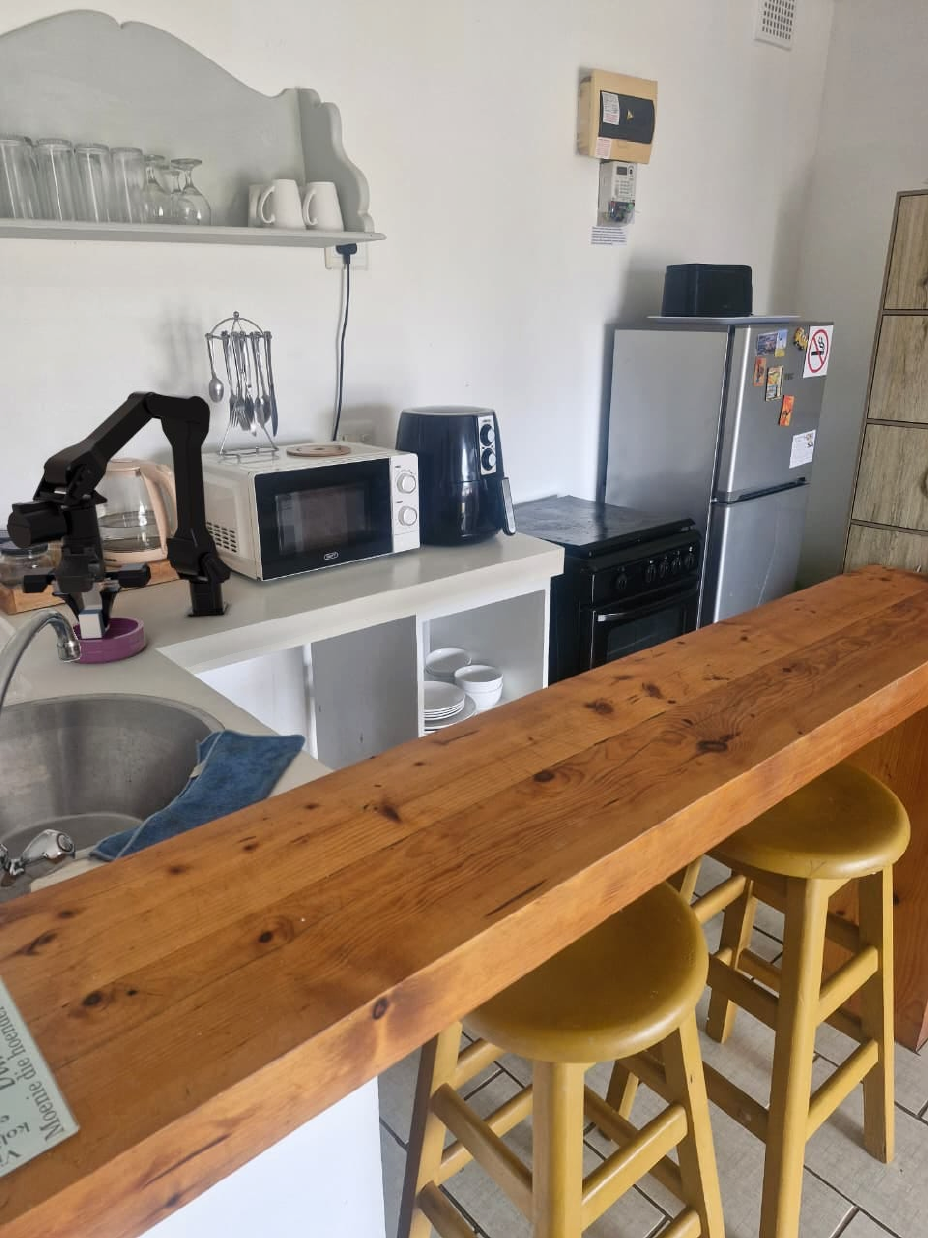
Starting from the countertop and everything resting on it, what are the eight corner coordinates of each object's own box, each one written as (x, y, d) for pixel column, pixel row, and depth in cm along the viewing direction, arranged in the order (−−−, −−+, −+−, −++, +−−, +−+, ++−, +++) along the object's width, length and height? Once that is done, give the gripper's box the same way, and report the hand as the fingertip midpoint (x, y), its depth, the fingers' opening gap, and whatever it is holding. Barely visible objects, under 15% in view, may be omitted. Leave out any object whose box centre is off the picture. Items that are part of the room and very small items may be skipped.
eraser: (90, 628, 145) (87, 605, 144) (110, 627, 146) (106, 604, 145) (81, 639, 140) (77, 615, 139) (101, 638, 141) (98, 613, 139)
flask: (102, 633, 153) (94, 578, 150) (66, 631, 154) (57, 577, 151) (125, 620, 160) (118, 567, 156) (90, 617, 161) (82, 566, 158)
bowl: (76, 640, 150) (73, 618, 148) (153, 636, 151) (150, 614, 150) (54, 667, 138) (50, 644, 137) (138, 662, 139) (134, 639, 138)
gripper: (0, 550, 129) (19, 648, 134) (130, 544, 132) (144, 641, 137) (25, 533, 140) (42, 624, 145) (145, 528, 142) (157, 618, 147)
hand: (95, 627), depth 143 cm, fingers closed on eraser, 3 cm apart
